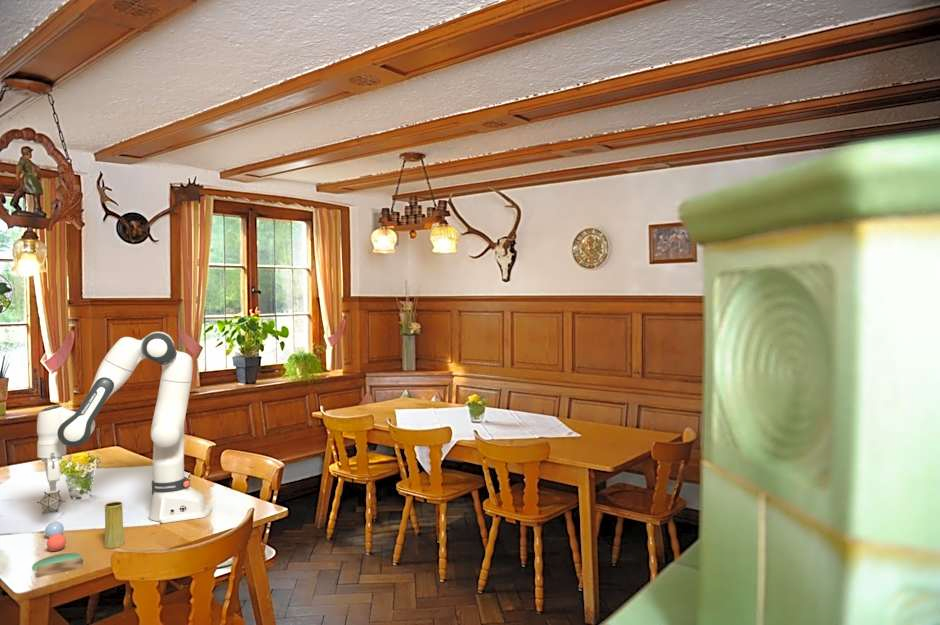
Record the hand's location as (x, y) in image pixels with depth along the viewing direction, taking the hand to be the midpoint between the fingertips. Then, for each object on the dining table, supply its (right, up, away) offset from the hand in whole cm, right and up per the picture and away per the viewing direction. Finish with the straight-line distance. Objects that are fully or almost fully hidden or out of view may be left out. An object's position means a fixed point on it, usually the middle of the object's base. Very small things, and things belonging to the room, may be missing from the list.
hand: (52, 488), depth 234 cm
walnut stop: (+25, -16, -35) cm, 46 cm away
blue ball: (+5, -13, -7) cm, 16 cm away
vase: (+31, -16, -14) cm, 37 cm away
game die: (-13, -15, +20) cm, 28 cm away
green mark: (+21, -16, -29) cm, 39 cm away
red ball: (+14, -13, -19) cm, 27 cm away
